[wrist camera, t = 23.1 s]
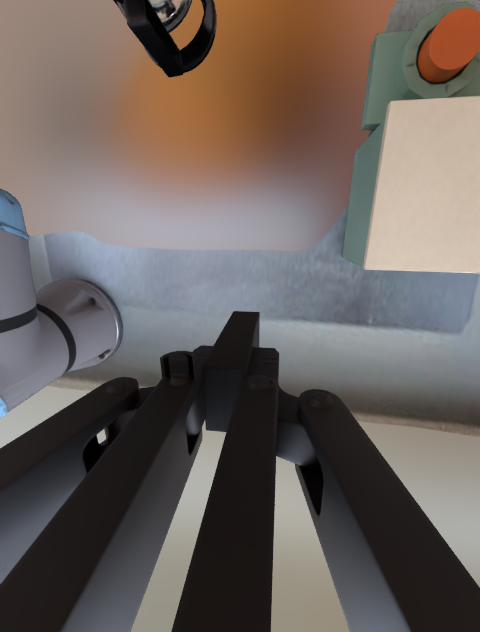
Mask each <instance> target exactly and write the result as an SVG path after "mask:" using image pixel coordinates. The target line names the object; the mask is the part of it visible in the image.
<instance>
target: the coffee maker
mask: <svg viewBox="0 0 480 632" xmlns="http://www.w3.org/2000/svg"><path fill="white" fill-rule="evenodd" d="M384 125H385V119H384V120H383V121H382V123H381V124H380V125H379V126H378V127H377V128H376V129H375V130H374V132H373V133H372V134H371V135H370V136H369V137H368V138H367V139H366V141H365V142H364V143H363V144H362V145H361V146H360V147H359V148H358V149H357V150H356V152H355V157H354V165H353V173H352V181H351V189H350V196H349V204H348V212H347V220H346V228H345V236H344V243H343V251H342V257H343V258H345V259H347V260H349V261H351V262H352V263H354V264H356V265H358V266H360V267H362V268H363V263H364V257H365V250H366V244H367V237H368V230H369V224H370V217H371V211H372V204H373V197H374V191H375V184H376V178H377V171H378V165H379V158H380V151H381V145H382V138H383V132H384Z"/></svg>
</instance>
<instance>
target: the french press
mask: <svg viewBox="0 0 480 632" xmlns="http://www.w3.org/2000/svg"><path fill="white" fill-rule="evenodd" d="M201 1H202V4H203V8H204V16H203V19H202V23H201V25H200V28H199V30H198V32H197V34H196V35H195V37H194V38H193V40H192V41H191V42H190V43H189V44H188V45H187V46H186V47H184V48H183V49H181V50H179V49H178V47H177V45H176V44H175V42H174V41H173V39H172V37H171V36H170V34H169V32H171V31H173V30H174V29H175V28H176V27H177V26H178V25H179V24H180V23H181V22H182V20H183V19H184V17H185V16H186V14H187V12H188V10H189V8H190V5H191V3H192V0H114V2H115V3H116V4H117V6H118V7H119V8H120V10H121V12H122V14H123V15H124V17H125V18H126V19H127V24H128V26H129V27H130V29H131V30H132V31H133V33H134V34H135V35H136V36H137V38H138V39H139V41H140V42H141V43H142V44H143V46H144V47H145V49H146V51H147V53H148V54H149V56H150V58H151V59H152V60H153V61H154V62H155V63H156V64H157V65H158V66H159V67H160V68H162V69H163V71H164V72H165V73H166V75H167V76H168V77H174V76H180V75H183V73H185V72H188V71H191V70H193V69H194V68H196V67H197V66H198V65H199V64H200V63H202V62H203V60H204V59H205V57H206V56H207V55H208V53H209V51H210V49H211V47H212V44H213V41H214V38H215V32H216V10H215V4H214V1H213V0H201Z"/></svg>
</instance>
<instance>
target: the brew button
mask: <svg viewBox="0 0 480 632" xmlns="http://www.w3.org/2000/svg"><path fill="white" fill-rule="evenodd" d="M479 49H480V13H479V12H478V11H476V10H475V9H472V8H459V9H456V10H454V11H452V12H450V13H448V14H447V15H446V16H445V17H443V18H442V19H441V20H440V22H439V23H438V24H437V26H436V27H435V28H434V30H433V31H432V32H431V34H430V35H429V36H428V38H427V39H426V40H425V42H424V44H423V45H422V47H421V50H420V53H419V57H418V67H419V71H420V73H421V75H422V76H423V77H424V78H425V79H426V80H428V81H430V82H443V81H446V80H448V79H450V78H451V77H453V76H454V75H455V74H457V73H458V72H459V71H460V70H461V69H462V68H463V67H464V66H465V65H466V64H468V63H469V62H470V61H471V60H472V59H473V58H474V57H475V55H476V54H477V53H478V51H479Z"/></svg>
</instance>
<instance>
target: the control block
mask: <svg viewBox="0 0 480 632" xmlns="http://www.w3.org/2000/svg"><path fill="white" fill-rule="evenodd" d="M459 8H472V9H475V10H476V11H478V12H479V13H480V11H479V10H478V9H477V8H475V7H474V6H472V5H471V4H469V3H468V2H460V3H451V4H443V5H441V6H440V7H438V8H437V9H436V10H434V11H433V12H431V13H430V14H428V15H427V16H426V17H424V18H423V19H421V21H420V22H419V23H418V25H417V26H416V28H415V29H414V30H408V31H397V32H386V33H377V35H376V37H375V39H374V41H373V44H372V46H371V53H370V61H369V70H368V78H367V85H366V92H365V100H364V108H363V115H362V123H361V130H375V129H376V128H377V127H378V126H379V125H380V124H381V123H382V121H383V120H384V119H385V118H386V112H387V105H388V104H389V103H390V101H397V100H415V99H433V98H450V97H468V96H480V49H479V51H478V53H477V54H476V55H475V57H474V58H473V59H472V60H471V61H470V62H469V63H468V64H466V65H465V66H464V67H463V68H462V69H461V70H460V71H459V72H458V73H457V74H455V75H454V76H453V77H451V78H450V79H448V80H446V81H443V82H430V81H428V80H426V79H425V78H424V77H423V76H422V75H421V73H420V71H419V67H418V57H419V53H420V50H421V47H422V45H423V44H424V42H425V40H426V39H427V38H428V36H429V35H430V34H431V32H432V31H433V30H434V28H435V27H436V26H437V24H438V23H439V22H440V20H441V19H442V18H443V17H445V16H446V15H447V14H448V13H450V12H452V11H454V10H456V9H459Z"/></svg>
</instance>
